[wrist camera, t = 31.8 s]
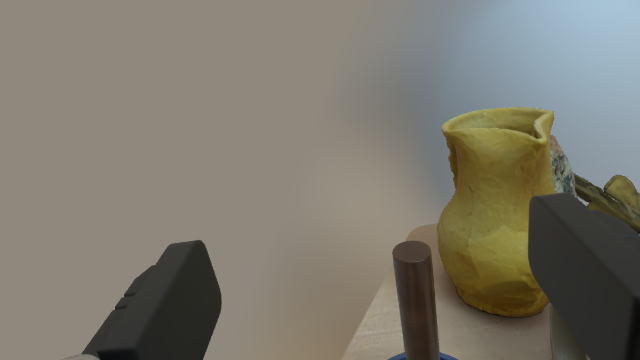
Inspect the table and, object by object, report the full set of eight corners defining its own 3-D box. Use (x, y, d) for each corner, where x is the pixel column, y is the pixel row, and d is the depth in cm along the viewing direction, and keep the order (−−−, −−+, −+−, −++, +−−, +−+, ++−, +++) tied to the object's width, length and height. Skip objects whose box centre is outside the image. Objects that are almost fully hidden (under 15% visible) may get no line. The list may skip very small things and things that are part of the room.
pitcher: (435, 324, 55) (428, 141, 46) (441, 249, 71) (437, 103, 62) (586, 340, 49) (613, 134, 40) (555, 254, 65) (569, 95, 56)
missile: (570, 188, 81) (573, 153, 78) (694, 257, 58) (704, 210, 55) (538, 196, 80) (539, 160, 77) (650, 268, 58) (657, 222, 55)
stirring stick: (425, 455, 40) (403, 266, 31) (410, 428, 43) (385, 247, 34) (452, 442, 40) (438, 254, 32) (435, 416, 43) (418, 236, 34)
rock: (559, 145, 75) (500, 156, 79) (574, 114, 60) (499, 129, 63) (578, 224, 72) (514, 232, 75) (598, 213, 56) (518, 223, 60)
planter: (651, 294, 47) (544, 288, 50) (718, 272, 36) (576, 266, 39) (677, 419, 42) (557, 405, 45) (762, 438, 31) (596, 418, 34)
